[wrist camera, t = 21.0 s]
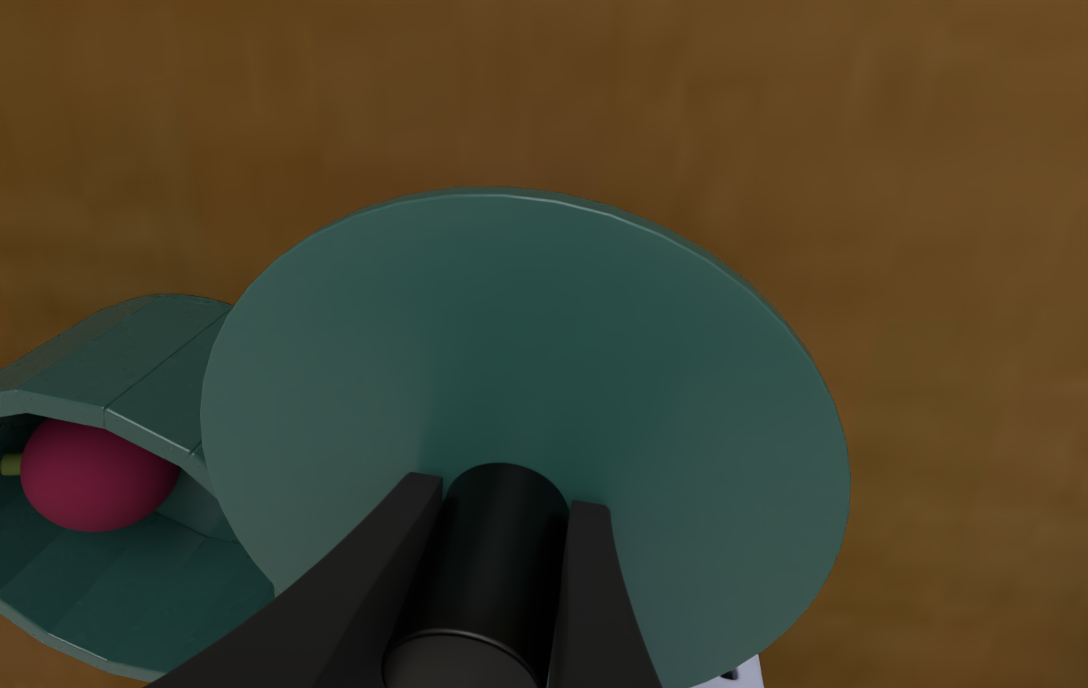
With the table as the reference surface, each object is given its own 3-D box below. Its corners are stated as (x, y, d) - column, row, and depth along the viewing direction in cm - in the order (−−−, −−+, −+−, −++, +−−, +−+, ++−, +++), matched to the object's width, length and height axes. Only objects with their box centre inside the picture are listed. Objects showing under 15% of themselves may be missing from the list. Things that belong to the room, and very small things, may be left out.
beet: (172, 441, 20) (-35, 442, 18) (172, 556, 21) (-16, 568, 19) (190, 374, 23) (22, 369, 21) (189, 477, 25) (32, 480, 23)
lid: (362, 14, 9) (149, 35, 5) (991, 422, 11) (1187, 668, 7) (168, 512, 15) (-3, 702, 11) (603, 729, 17) (589, 960, 13)
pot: (16, 181, 20) (-205, 249, 15) (494, 446, 22) (449, 585, 17) (-18, 427, 25) (-187, 541, 20) (369, 618, 28) (306, 763, 22)
